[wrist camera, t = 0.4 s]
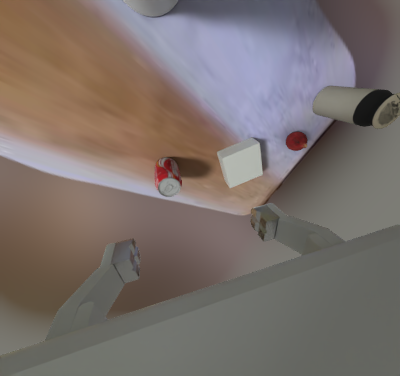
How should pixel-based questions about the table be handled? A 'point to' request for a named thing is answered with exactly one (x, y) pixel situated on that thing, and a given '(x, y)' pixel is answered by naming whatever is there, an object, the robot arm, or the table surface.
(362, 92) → the travel mug
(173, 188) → the soda can
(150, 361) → the robot arm
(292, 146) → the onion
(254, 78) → the table surface
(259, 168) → the grey block
